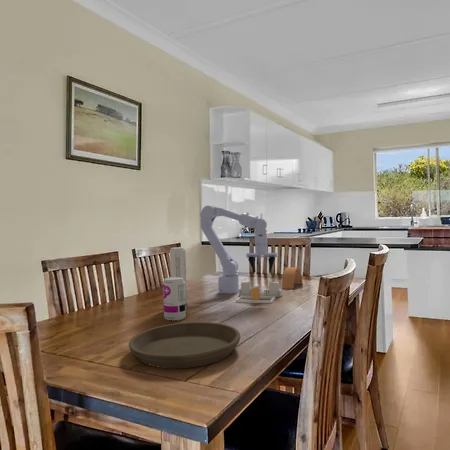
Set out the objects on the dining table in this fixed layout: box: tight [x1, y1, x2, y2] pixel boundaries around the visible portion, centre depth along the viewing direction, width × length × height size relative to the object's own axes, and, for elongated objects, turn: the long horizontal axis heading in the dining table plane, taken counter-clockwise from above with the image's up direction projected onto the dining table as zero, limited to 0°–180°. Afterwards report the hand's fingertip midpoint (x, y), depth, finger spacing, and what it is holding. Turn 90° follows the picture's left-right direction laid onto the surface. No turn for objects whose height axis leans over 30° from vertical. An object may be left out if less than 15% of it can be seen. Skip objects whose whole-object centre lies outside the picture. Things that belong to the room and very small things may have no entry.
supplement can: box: [162, 276, 187, 322], centre depth 150 cm, size 8×8×15 cm
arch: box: [281, 266, 303, 290], centre depth 205 cm, size 6×20×10 cm, turn 156°
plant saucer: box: [128, 321, 241, 369], centre depth 113 cm, size 31×31×5 cm
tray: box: [235, 296, 276, 304], centre depth 172 cm, size 15×9×2 cm, turn 73°
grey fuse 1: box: [240, 281, 252, 294], centre depth 184 cm, size 4×2×6 cm, turn 73°
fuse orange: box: [251, 285, 261, 300], centre depth 172 cm, size 4×2×6 cm, turn 163°
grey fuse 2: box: [268, 281, 280, 294], centre depth 181 cm, size 4×2×6 cm, turn 73°
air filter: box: [169, 246, 188, 308], centre depth 169 cm, size 6×6×25 cm
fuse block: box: [238, 287, 283, 298], centre depth 183 cm, size 19×7×4 cm, turn 73°
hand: (262, 272), depth 191 cm, fingers open, 7 cm apart
